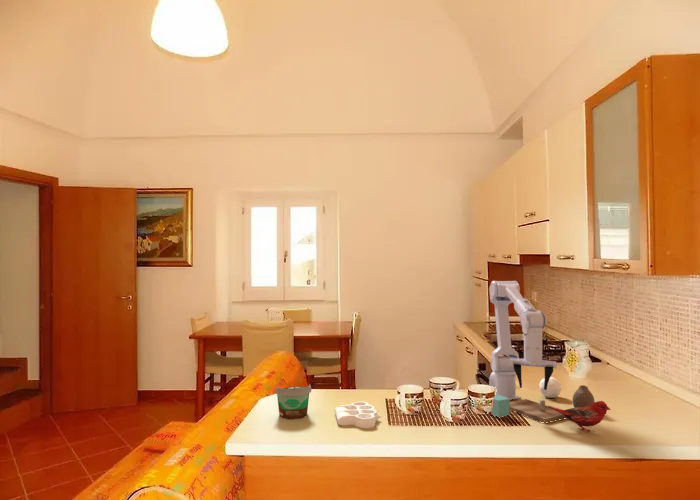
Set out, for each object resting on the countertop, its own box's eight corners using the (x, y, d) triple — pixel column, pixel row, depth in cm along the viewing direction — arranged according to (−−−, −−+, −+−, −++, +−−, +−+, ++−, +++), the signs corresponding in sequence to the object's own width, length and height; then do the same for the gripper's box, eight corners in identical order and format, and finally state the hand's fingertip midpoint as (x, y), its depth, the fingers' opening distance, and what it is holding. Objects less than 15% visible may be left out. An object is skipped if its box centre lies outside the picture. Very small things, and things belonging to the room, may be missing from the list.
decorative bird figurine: (610, 437, 145) (610, 403, 145) (547, 426, 154) (547, 395, 154) (611, 434, 148) (611, 401, 148) (548, 424, 156) (548, 392, 157)
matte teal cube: (487, 414, 166) (487, 396, 166) (498, 412, 168) (498, 394, 168) (498, 418, 161) (498, 400, 161) (509, 416, 164) (509, 398, 164)
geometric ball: (554, 404, 186) (568, 388, 185) (547, 400, 181) (561, 384, 180) (539, 390, 192) (552, 374, 191) (531, 386, 186) (545, 370, 185)
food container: (277, 422, 158) (277, 391, 158) (274, 416, 164) (274, 386, 164) (314, 418, 161) (314, 388, 161) (311, 412, 167) (311, 383, 167)
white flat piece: (333, 411, 170) (375, 410, 171) (338, 430, 152) (385, 428, 153) (333, 402, 170) (375, 400, 171) (338, 419, 152) (385, 417, 153)
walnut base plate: (502, 408, 172) (502, 394, 172) (526, 403, 178) (526, 389, 178) (544, 423, 157) (544, 408, 157) (569, 417, 162) (569, 402, 162)
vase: (592, 409, 171) (592, 384, 171) (596, 415, 165) (596, 389, 165) (571, 407, 173) (571, 382, 173) (574, 413, 167) (574, 388, 167)
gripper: (510, 348, 162) (510, 389, 161) (557, 351, 157) (557, 393, 157) (510, 344, 168) (510, 383, 168) (555, 347, 164) (555, 387, 164)
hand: (532, 388), depth 163 cm, fingers open, 7 cm apart
